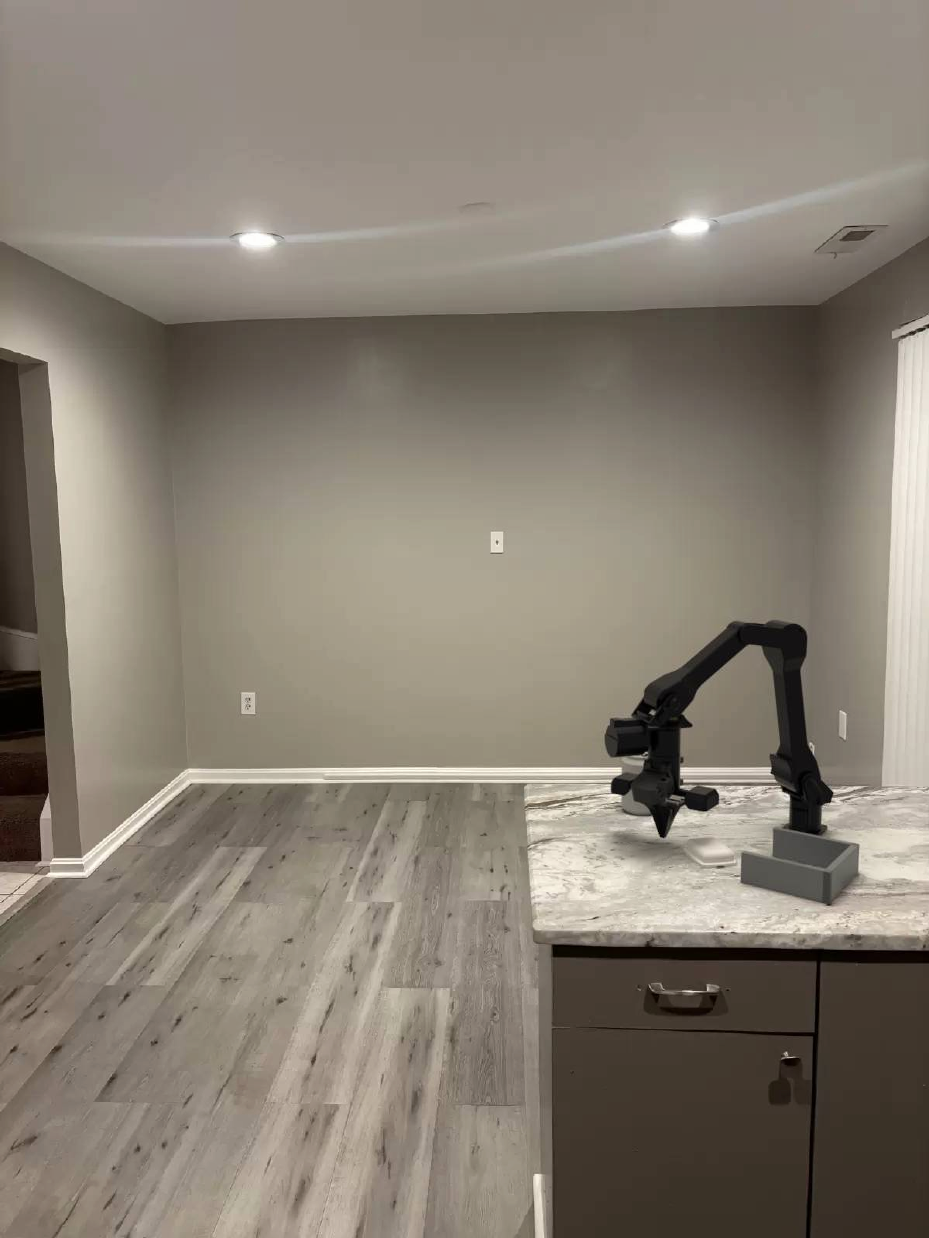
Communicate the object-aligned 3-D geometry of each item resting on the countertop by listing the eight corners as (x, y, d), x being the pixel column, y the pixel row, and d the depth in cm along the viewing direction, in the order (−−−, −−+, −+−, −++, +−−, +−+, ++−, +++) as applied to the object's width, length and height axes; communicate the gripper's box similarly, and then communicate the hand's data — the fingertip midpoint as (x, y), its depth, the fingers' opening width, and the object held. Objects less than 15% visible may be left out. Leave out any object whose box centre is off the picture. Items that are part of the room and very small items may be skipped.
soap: (739, 868, 159) (740, 851, 159) (701, 870, 158) (701, 854, 158) (716, 849, 168) (717, 833, 168) (680, 851, 167) (681, 835, 167)
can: (659, 817, 184) (660, 757, 183) (620, 815, 185) (621, 756, 184) (659, 805, 191) (660, 747, 190) (622, 803, 193) (622, 746, 191)
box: (774, 854, 164) (775, 826, 163) (858, 873, 155) (859, 843, 155) (740, 882, 152) (741, 852, 152) (829, 903, 144) (830, 872, 143)
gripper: (594, 754, 167) (594, 839, 168) (693, 771, 155) (692, 862, 157) (625, 741, 175) (625, 822, 177) (721, 757, 164) (719, 843, 165)
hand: (663, 837), depth 169 cm, fingers closed
